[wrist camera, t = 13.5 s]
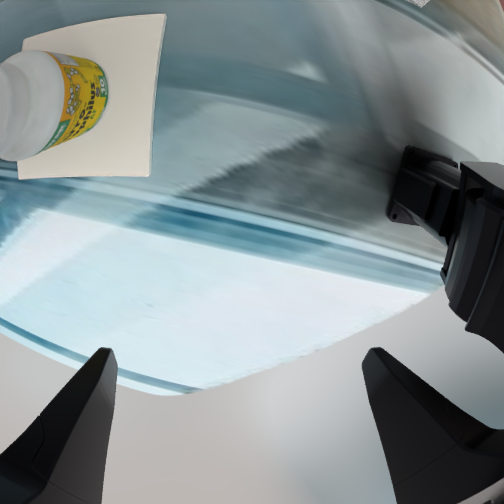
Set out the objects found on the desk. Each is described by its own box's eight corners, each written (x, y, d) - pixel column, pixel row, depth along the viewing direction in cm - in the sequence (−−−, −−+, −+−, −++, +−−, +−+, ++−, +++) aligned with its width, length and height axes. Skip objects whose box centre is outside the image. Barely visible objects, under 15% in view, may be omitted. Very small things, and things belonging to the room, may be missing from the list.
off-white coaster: (167, 16, 13) (165, 13, 12) (151, 173, 18) (148, 176, 17) (29, 40, 11) (23, 39, 10) (24, 176, 16) (18, 179, 15)
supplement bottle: (67, 49, 12) (-28, 35, 4) (128, 76, 14) (48, 62, 6) (34, 120, 14) (-63, 154, 5) (90, 149, 16) (2, 201, 7)
